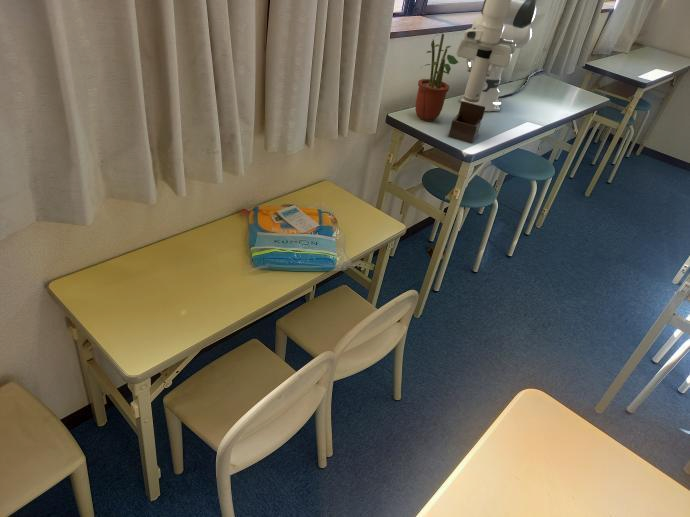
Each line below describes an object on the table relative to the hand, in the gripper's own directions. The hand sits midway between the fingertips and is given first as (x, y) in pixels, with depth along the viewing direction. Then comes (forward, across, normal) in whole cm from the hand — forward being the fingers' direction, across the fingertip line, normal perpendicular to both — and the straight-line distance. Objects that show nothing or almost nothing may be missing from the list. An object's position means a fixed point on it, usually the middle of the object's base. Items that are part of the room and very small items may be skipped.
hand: (478, 73), depth 187 cm
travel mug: (+10, 0, 0) cm, 10 cm away
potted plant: (+25, +19, -10) cm, 33 cm away
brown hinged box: (+25, -1, 0) cm, 25 cm away
